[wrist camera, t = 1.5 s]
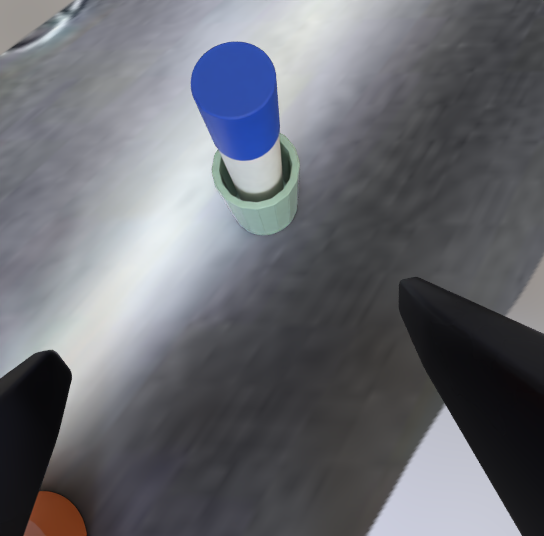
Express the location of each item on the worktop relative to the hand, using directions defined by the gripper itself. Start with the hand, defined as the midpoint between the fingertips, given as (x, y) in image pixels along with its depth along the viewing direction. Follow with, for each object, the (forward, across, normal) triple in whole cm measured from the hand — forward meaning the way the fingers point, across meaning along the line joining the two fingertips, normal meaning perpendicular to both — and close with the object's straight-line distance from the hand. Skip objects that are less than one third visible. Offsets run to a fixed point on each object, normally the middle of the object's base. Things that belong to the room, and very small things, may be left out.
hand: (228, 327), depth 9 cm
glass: (+15, -1, +3) cm, 16 cm away
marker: (+15, -1, +2) cm, 15 cm away
